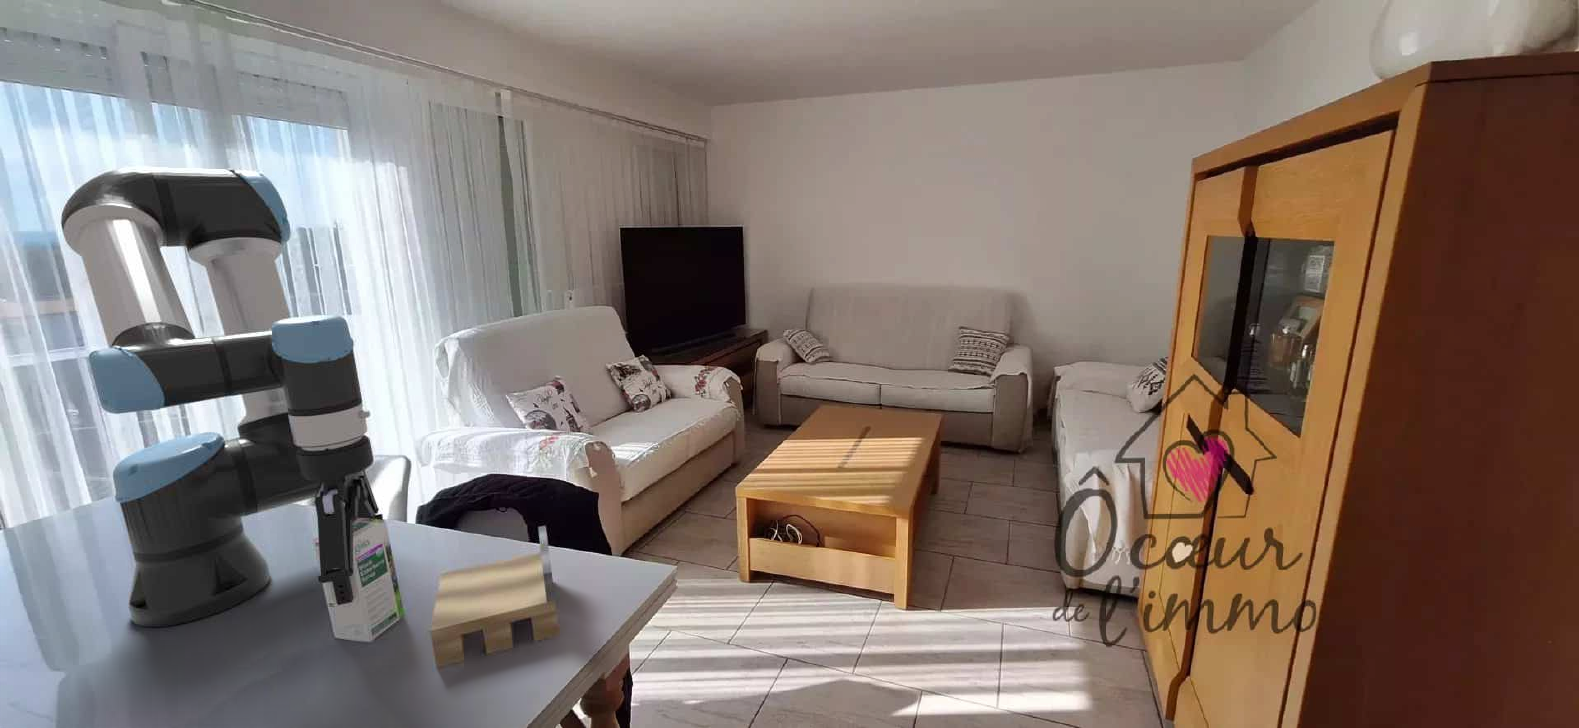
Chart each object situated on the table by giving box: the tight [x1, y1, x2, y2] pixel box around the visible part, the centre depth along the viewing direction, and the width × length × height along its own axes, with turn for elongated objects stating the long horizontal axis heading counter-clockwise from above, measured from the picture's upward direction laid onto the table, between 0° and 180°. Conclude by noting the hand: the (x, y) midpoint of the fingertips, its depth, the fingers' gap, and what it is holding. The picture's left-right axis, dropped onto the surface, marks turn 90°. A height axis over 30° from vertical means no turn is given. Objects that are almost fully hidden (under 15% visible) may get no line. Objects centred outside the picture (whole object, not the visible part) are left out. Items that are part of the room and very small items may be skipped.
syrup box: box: [312, 518, 405, 643], centre depth 83 cm, size 6×6×14 cm
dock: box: [429, 525, 560, 668], centre depth 84 cm, size 14×14×9 cm
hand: (363, 594), depth 83 cm, fingers open, 13 cm apart
